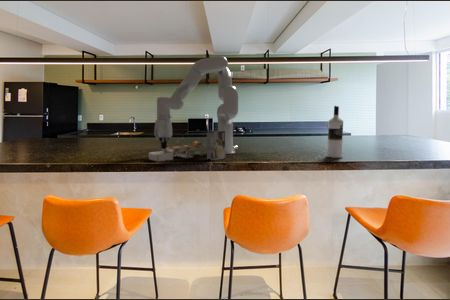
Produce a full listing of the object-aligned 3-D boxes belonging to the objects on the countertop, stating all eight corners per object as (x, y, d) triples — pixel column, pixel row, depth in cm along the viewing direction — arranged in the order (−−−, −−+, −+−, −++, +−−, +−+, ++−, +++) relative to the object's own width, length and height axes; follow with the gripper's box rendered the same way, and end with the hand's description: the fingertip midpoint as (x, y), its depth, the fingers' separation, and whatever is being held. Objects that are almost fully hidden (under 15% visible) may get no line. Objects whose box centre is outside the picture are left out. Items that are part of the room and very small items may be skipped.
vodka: (332, 155, 187) (334, 105, 183) (345, 157, 180) (348, 105, 175) (322, 156, 182) (324, 105, 178) (335, 158, 175) (338, 105, 170)
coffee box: (217, 157, 181) (217, 130, 179) (225, 158, 177) (225, 130, 175) (206, 159, 174) (206, 131, 172) (214, 160, 170) (214, 131, 168)
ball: (195, 146, 192) (195, 140, 192) (199, 146, 190) (198, 141, 189) (191, 147, 190) (190, 141, 189) (194, 147, 187) (194, 142, 187)
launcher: (188, 146, 200) (188, 140, 199) (202, 148, 189) (202, 142, 189) (160, 150, 186) (160, 143, 185) (173, 152, 175) (173, 145, 175)
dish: (163, 157, 181) (163, 150, 181) (173, 159, 174) (173, 152, 173) (148, 159, 175) (148, 152, 174) (157, 161, 167) (157, 154, 167)
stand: (190, 152, 200) (189, 146, 200) (205, 155, 188) (205, 149, 188) (162, 156, 187) (161, 149, 186) (177, 159, 174) (177, 152, 174)
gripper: (170, 117, 191) (171, 146, 193) (149, 117, 181) (149, 148, 183) (177, 118, 185) (177, 148, 188) (155, 118, 175) (156, 150, 178)
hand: (163, 148), depth 185 cm, fingers closed
